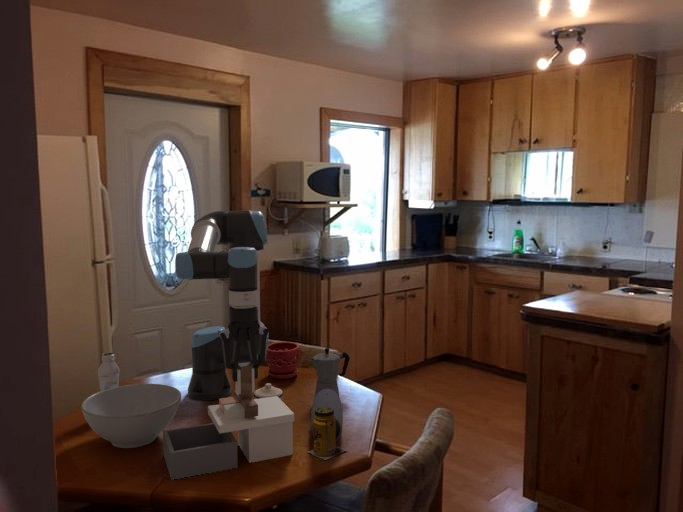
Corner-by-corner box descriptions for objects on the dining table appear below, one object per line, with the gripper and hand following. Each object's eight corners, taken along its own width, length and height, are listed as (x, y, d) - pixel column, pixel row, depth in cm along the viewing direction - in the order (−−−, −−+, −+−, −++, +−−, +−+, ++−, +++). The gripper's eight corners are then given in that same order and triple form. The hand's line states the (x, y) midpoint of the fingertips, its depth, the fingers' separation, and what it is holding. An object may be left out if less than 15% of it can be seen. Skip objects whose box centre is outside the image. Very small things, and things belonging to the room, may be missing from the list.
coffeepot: (315, 406, 190) (315, 353, 189) (304, 398, 199) (303, 347, 197) (355, 399, 198) (356, 348, 196) (342, 391, 206) (343, 342, 204)
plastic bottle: (126, 413, 184) (123, 352, 182) (109, 420, 178) (107, 358, 176) (111, 410, 187) (109, 350, 185) (94, 417, 181) (92, 355, 179)
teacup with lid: (276, 427, 173) (275, 390, 172) (249, 424, 176) (248, 387, 175) (291, 413, 185) (291, 378, 184) (265, 410, 187) (265, 375, 186)
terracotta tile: (219, 407, 157) (219, 398, 157) (235, 405, 159) (235, 396, 159) (222, 413, 153) (222, 404, 153) (239, 410, 155) (239, 401, 154)
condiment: (306, 452, 156) (306, 410, 155) (329, 443, 162) (329, 402, 161) (325, 461, 151) (325, 417, 150) (347, 451, 157) (347, 408, 156)
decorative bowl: (140, 415, 183) (139, 378, 182) (201, 432, 170) (200, 393, 168) (62, 446, 160) (60, 404, 159) (126, 469, 147) (124, 423, 145)
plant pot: (269, 370, 231) (269, 341, 230) (302, 371, 229) (301, 341, 228) (262, 380, 218) (261, 349, 217) (296, 381, 216) (296, 350, 215)
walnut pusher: (233, 400, 160) (232, 358, 159) (244, 398, 162) (243, 357, 160) (246, 417, 148) (246, 372, 146) (258, 416, 149) (257, 371, 148)
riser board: (208, 447, 159) (207, 406, 158) (277, 435, 167) (277, 395, 166) (220, 471, 146) (219, 425, 144) (294, 456, 154) (294, 413, 152)
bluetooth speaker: (312, 417, 181) (312, 387, 180) (341, 417, 181) (341, 386, 180) (309, 449, 158) (309, 414, 157) (343, 448, 159) (343, 414, 158)
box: (163, 455, 154) (163, 430, 154) (224, 445, 161) (224, 421, 160) (171, 480, 141) (170, 453, 140) (237, 468, 147) (237, 441, 147)
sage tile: (223, 414, 152) (223, 405, 152) (240, 411, 154) (240, 402, 154) (227, 420, 148) (227, 411, 148) (244, 417, 150) (244, 408, 149)
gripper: (216, 310, 145) (218, 400, 147) (277, 305, 152) (278, 391, 154) (210, 305, 152) (212, 391, 154) (268, 301, 158) (269, 383, 161)
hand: (245, 391), depth 154 cm, fingers closed on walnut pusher, 3 cm apart
